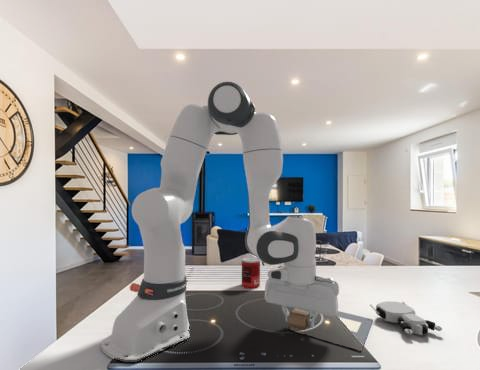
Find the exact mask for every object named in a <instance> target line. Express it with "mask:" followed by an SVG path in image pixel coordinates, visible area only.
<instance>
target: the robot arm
mask: <svg viewBox="0 0 480 370" xmlns="http://www.w3.org/2000/svg"><path fill="white" fill-rule="evenodd" d="M214 135H216V136H217V135H219V136H220V135H221V136H235V135H238V136H239V137H240V140H241V146H242V156H243V157H242V159H243V166H244V171H245V178H246V184H247V190H248V192H247V193H248V196H247V197H248V221H249V222H248V225H247V230H246V233H245V236H244V244H245V248H246V250H247V251H248V253H249V254H250V255H252V256H253V257H255V258H258V259H260V262H263V263H264V264H267V265H271V266H274V265H276V266H274V267H272V268H271V269H270V270H268V271H267V277H268V278H267V280H266V282H265V287H264V299H265V301H266V303H270V304H274V305H279V306H281V309H282V312H283V314H284V315H285V322H287V323H289V313H290V311H289V309H288V308H293V309H295V308H297V309H302V310H306V311H311V315H312V316H313V318H312V319H310V318H309V319H308V321H307V323H308V325H307V327H310V328H313V327H314V322H315V321H316V319H317V318H318V317H317V316H318V315H319V314H320V315H321V314H325V315H329V316H334V315H336V314H337V312H338V311H339V300H338V295H339V293H340V286H339V283H338V282H337V281H335V280H334V278H331V277H330V278H329V277H322V276H317V262H316V257H315V254H316V250H317V235H316V233H317V232H316V227H315V225H314V224H315V223H314V222H313V221H312V220H311V219H309V218H305V217H301V216H296V215H288V216H287V217H286V218H284V219H283V220H282V221H280V222H278V223H276V224H274V225H272V224H271V221H270V199H269V198H270V194H271V190H272V189H273V187H274V185H275V183H277V182H278V180H279V179H280V177H281V175H282V174H283V165H284V164H283V163H284V154H283V146H282V139H281V133H280V131H279V126H278V123H277V119H276V118H275V117H274V116H273V115H272V114H270V113H267V112H256V106H255V104H254V103H253V102H252V100H251V99H250V97H249V95H248V94H247V93H246V91H245V90H244V89H243V88H242V87H241V86H240V85H239V84H237V83H236V82H233V81H223V82H220V83H218V84H217V85H215V86H214V87H213V88H212V89H211V90H210V93H209V95H208V98H207V105H200V104H195V103H192V104H191V103H190V104H187V105H185V106H183V108H182V110H181V111H180V112H179V113H178V116H177V118H176V120H175V122H174V123H173V126H172V129H171V131H170V134H169V137H168V139H167V143H166V145H165V148H164V152H163V154H162V157H161V160H160V168H161V175H160V176H161V177H160V185H159V187H153V188H150V189H147V190H145V191H142V192H141V193H139V194H138V195H137V196H136V197H135V198H134V200H133V202H132V205H131V215H132V219H133V220H134V222H135V223H136V225H138V228H139V233H140V236H141V239H142V240H141V241H142V245H143V278H142V280H141V282H140V284H139V283H135V282H131V284H130V285H129V290H130V291H131V292H134V293H137V294H136V296H135V297H134V299H132V301H131V302H130V303H128V305H127V306H126V307H125V308H124V309H123V310H122V311H121V312H120V313H119V314H118V315H117V316H116V317H115V320H114V322H113V326H112V331H111V334H110V335H109V336H107V337H105V338H104V339H102V341H101V345H100V349H101V350H102V352H103V353H104V354H105V355H106V356H107V357H109V358H110V359H113V360H114V358H120V359H124V360H137V359H140V358H142V357H145V356H148V355H150V354H152V353H154V352H156V351H158V350H160V349H162V348H164V347H167V346H169V345H172V344H175V343H178V342H180V341H183V340H184V339H187V338H189V337H191V336H190V329H189V326H190V327H191V325H190V322H189V318H188V317H189V316H188V310H187V302H186V291H187V275H186V247H185V244H184V243H183V242H184V241H183V237H182V231H181V224H183V223H185V222H187V220H188V219H189V218H190V217H191V215H192V214H193V209H194V200H195V196H196V191H197V185H198V179H199V175H200V173H201V169H202V165H203V163H204V159H205V158H206V154H207V152H208V148H209V145H210V143H211V140H212V137H213V136H214ZM282 264H283V265H282ZM188 330H189V331H188ZM180 337H182V338H180ZM125 356H128V357H125Z"/></svg>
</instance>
